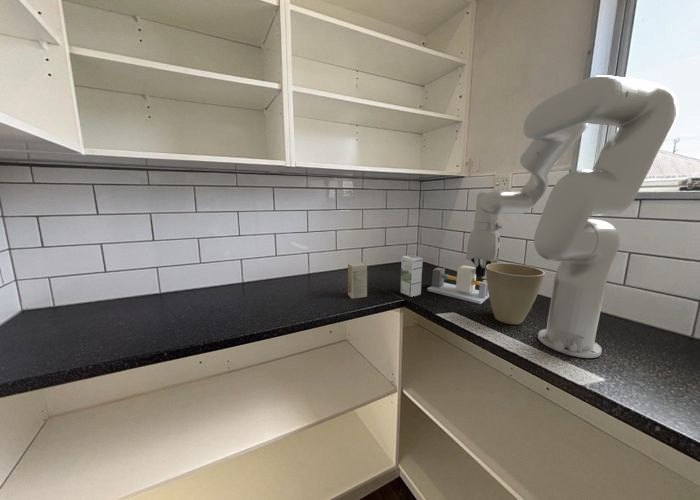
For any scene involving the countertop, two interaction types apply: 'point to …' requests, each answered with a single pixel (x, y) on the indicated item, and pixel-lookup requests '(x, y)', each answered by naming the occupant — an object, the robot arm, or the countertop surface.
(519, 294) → the plant pot
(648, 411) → the countertop surface
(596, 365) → the countertop surface
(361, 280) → the skincare box
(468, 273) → the slotted white cube
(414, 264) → the syrup box
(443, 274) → the grey rod holder
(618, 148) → the robot arm
